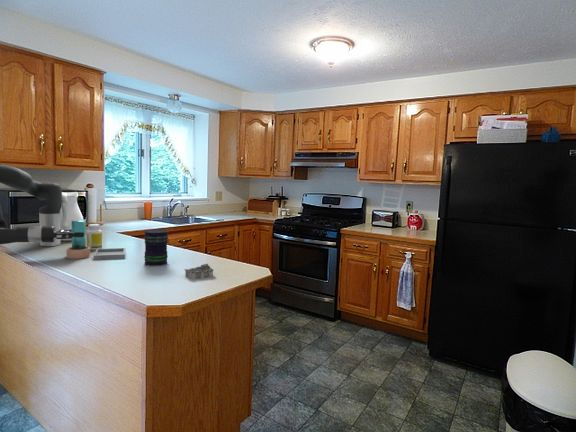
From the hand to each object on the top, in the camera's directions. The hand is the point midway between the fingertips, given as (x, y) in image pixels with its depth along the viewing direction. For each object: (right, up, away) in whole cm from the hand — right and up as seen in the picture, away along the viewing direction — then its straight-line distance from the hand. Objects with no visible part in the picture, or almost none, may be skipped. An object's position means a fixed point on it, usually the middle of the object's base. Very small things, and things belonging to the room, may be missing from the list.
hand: (84, 233), depth 163 cm
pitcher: (-33, -6, +38) cm, 51 cm away
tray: (+10, -11, +5) cm, 15 cm away
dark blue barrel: (+36, -13, -6) cm, 39 cm away
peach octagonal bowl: (-3, -11, 0) cm, 11 cm away
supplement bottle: (-6, -9, +18) cm, 21 cm away
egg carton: (+60, -16, -23) cm, 67 cm away
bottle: (-3, -9, 0) cm, 9 cm away
